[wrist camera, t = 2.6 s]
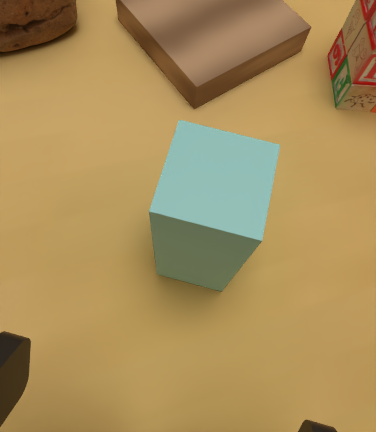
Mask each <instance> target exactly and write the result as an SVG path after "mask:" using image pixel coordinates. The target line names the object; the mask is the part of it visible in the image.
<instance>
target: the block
mask: <svg viewBox="0 0 376 432" xmlns="http://www.w3.org/2000/svg"><path fill="white" fill-rule="evenodd" d="M76 19H77V10H76V0H0V51H4V52H6V51H12V50H17V49H21V48H24V47H28V46H31V45H36V44H41V43H44V42H47V41H50V40H53V39H55V38H56V37H58V36H60V35H62V34H64V33H65V32H67V31H68V30H69V29H71V28H72V27H73V25H74V24H75V22H76Z"/></svg>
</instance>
